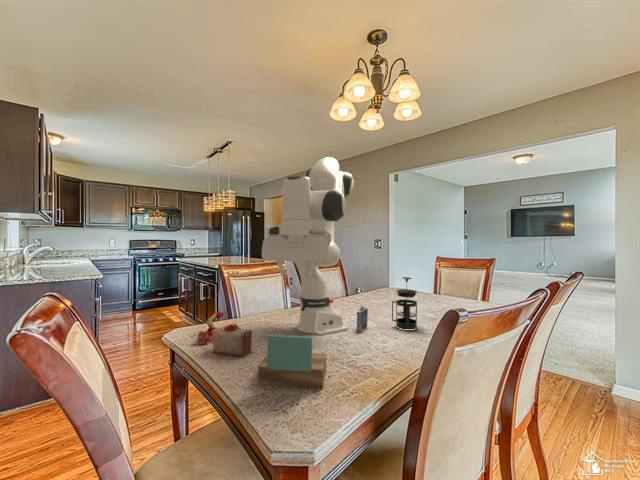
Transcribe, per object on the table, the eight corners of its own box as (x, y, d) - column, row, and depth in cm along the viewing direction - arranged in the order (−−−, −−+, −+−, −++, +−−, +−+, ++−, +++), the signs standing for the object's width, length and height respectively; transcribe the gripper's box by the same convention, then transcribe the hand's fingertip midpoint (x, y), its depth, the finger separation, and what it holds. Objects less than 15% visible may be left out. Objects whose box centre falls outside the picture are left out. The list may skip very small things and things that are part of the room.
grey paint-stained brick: (208, 354, 103) (208, 325, 102) (222, 346, 110) (222, 319, 110) (242, 359, 99) (243, 329, 99) (254, 350, 106) (255, 323, 106)
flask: (361, 333, 127) (361, 308, 127) (354, 331, 128) (354, 307, 128) (368, 327, 135) (368, 304, 135) (362, 326, 136) (362, 303, 136)
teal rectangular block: (268, 367, 81) (268, 334, 81) (311, 369, 80) (312, 336, 80) (267, 369, 80) (267, 336, 80) (311, 371, 79) (311, 338, 78)
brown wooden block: (268, 367, 93) (269, 351, 93) (326, 370, 91) (326, 353, 91) (258, 384, 82) (258, 366, 82) (322, 388, 80) (323, 369, 80)
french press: (416, 325, 138) (417, 276, 138) (420, 331, 129) (421, 279, 129) (391, 324, 140) (391, 275, 140) (392, 330, 131) (393, 278, 131)
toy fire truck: (196, 345, 111) (196, 319, 111) (216, 333, 124) (216, 310, 124) (204, 345, 110) (204, 320, 110) (223, 334, 124) (223, 311, 123)
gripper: (331, 230, 90) (331, 275, 90) (266, 229, 92) (265, 274, 92) (330, 229, 84) (329, 278, 84) (260, 229, 86) (259, 276, 86)
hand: (295, 276), depth 88 cm, fingers open, 6 cm apart
